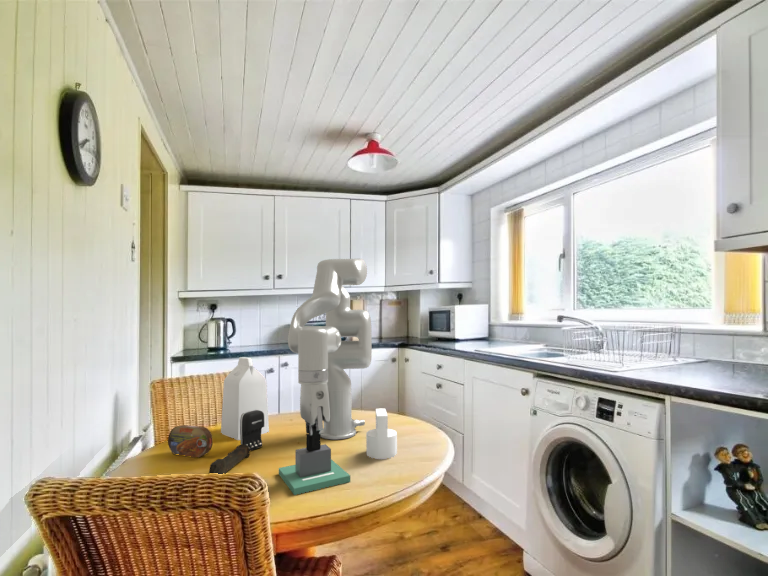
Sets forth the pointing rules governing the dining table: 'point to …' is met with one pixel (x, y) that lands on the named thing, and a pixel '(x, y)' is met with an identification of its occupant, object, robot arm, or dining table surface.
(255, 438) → the black battery charger
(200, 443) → the tin
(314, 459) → the block
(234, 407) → the milk
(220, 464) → the hand tool
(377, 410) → the base with upright slab
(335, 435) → the robot arm
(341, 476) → the header board
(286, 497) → the dining table surface
